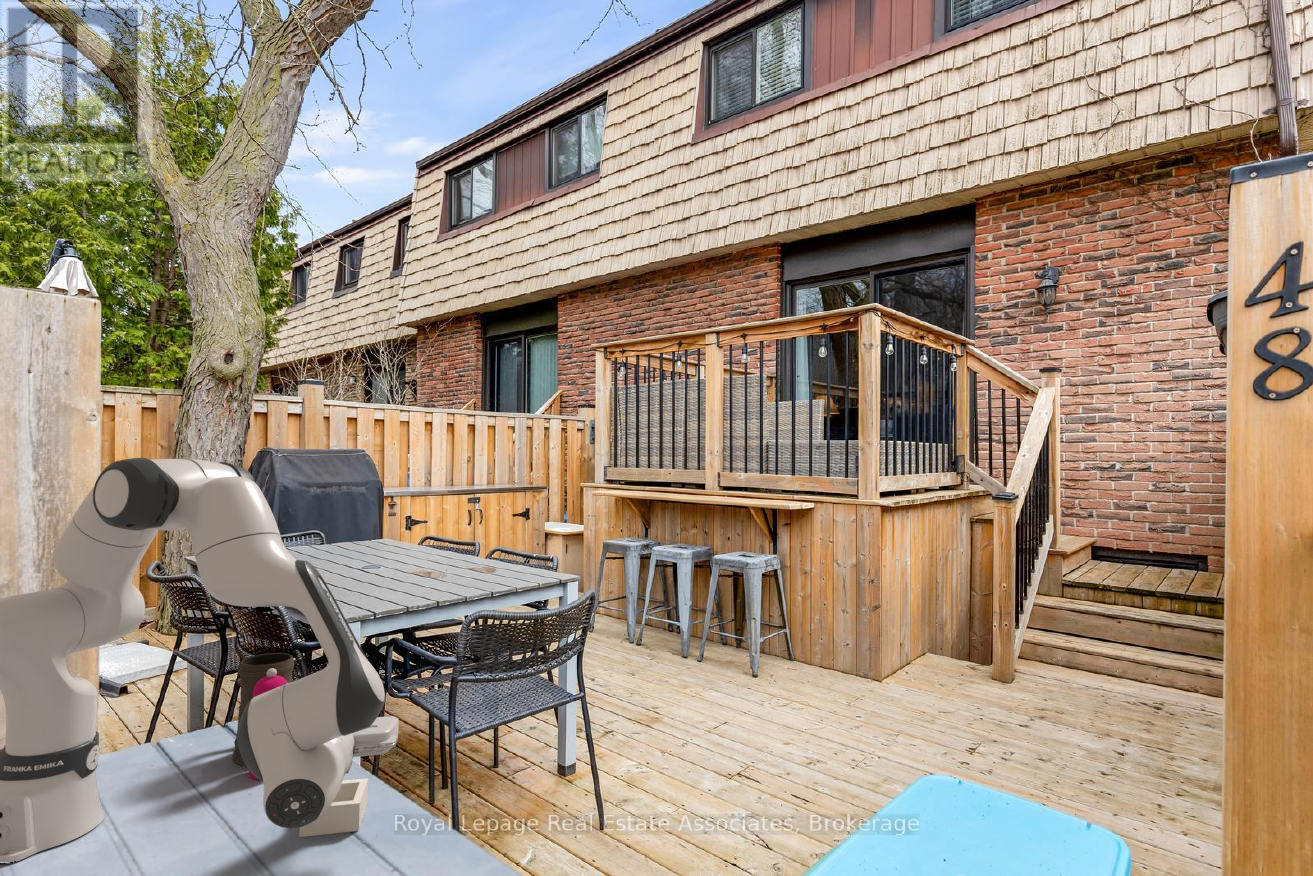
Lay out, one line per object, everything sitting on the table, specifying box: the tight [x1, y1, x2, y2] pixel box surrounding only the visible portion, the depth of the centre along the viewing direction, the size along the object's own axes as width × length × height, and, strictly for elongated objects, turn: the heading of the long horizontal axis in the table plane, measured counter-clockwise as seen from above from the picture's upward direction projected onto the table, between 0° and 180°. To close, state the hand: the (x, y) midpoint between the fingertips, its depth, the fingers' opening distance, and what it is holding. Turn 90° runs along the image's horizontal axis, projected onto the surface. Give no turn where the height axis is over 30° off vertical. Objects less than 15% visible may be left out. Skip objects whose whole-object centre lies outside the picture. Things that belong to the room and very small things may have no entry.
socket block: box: [299, 777, 369, 838], centre depth 115 cm, size 9×9×4 cm
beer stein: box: [231, 652, 295, 766], centre depth 141 cm, size 15×11×20 cm
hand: (340, 719), depth 116 cm, fingers closed on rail, 4 cm apart
